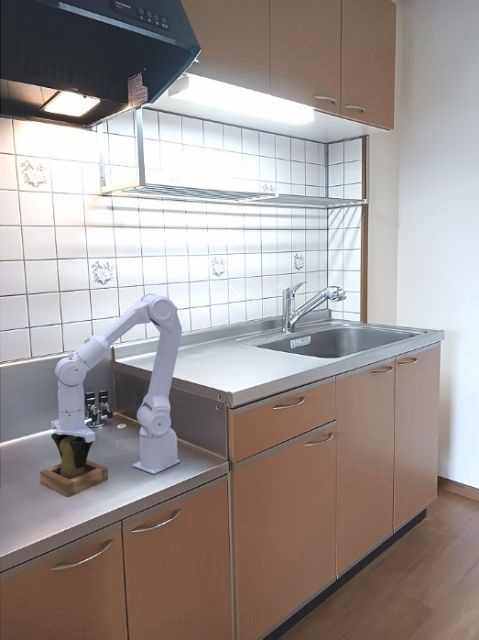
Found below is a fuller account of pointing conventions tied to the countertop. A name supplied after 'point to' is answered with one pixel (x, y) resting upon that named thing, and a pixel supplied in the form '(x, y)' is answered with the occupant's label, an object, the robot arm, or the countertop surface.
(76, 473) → the olive rounded peg
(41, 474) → the socket block
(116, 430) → the countertop surface
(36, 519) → the countertop surface
